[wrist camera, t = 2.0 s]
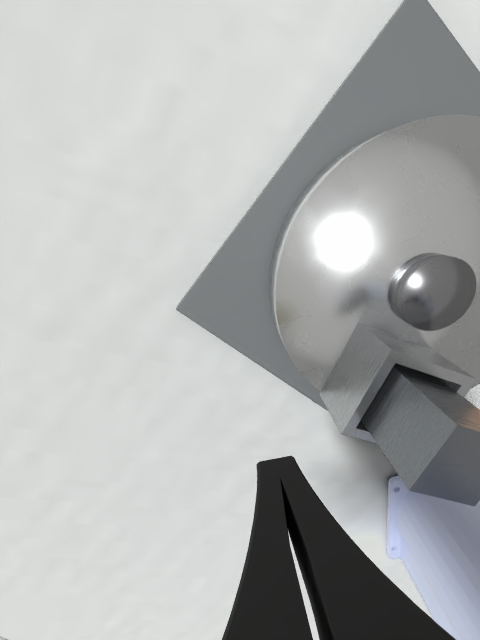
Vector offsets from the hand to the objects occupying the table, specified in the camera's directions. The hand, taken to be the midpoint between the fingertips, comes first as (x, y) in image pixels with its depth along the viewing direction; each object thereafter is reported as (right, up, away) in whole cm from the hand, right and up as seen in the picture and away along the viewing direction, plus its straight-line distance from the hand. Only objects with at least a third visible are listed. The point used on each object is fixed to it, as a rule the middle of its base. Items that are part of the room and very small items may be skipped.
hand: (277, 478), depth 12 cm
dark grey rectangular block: (+6, +3, +5) cm, 9 cm away
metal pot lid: (+8, +9, +7) cm, 13 cm away
